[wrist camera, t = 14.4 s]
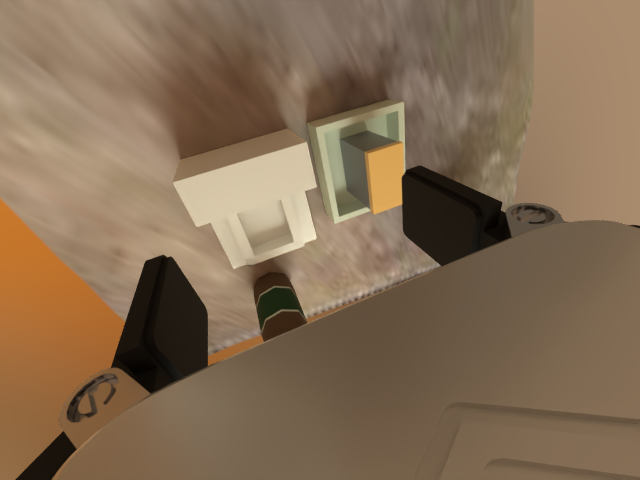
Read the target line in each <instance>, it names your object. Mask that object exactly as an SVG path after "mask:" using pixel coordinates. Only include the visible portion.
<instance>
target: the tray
mask: <svg viewBox="0 0 640 480" xmlns="http://www.w3.org/2000/svg"><path fill="white" fill-rule="evenodd" d="M307 128H308V133H309V137H310V142H311V147H312V151H313V156H314V161H315V165H316V170H317V175H318V180H319V184H320V189H321V194H322V198H323V203H324V208H325V212H326V214H327V215H328V216H329V218H330V219H331V220H332V221H333V223H334V224H336V223H338V222H341V221H344V220H347V219H349V218H352V217H355V216H358V215H360V214H363V213H366V212H369V211H371V210H370V209H368V208H367V207H366V206H365V205H364V204H363V203H361V202H360V201H359V200H358V199H357V198H356V197H354V196H353V195H352V194H351V193H350V192H349V191H347V186H346V180H345V173H344V167H343V160H342V154H341V147H340V140H339V139H341V138H344V137H348V136H351V135H354V134H358V133H361V132H364V131H367V130H368V131H370V132H373V133H376V134H379V135H381V136H384V137H387V138H389V139H392V140H395V141H401V142H403V155H404V173H405V129H404V102H403V101H396V100H390V99H387V100H383V101H380V102H377V103H373V104H370V105H366V106H363V107H359V108H356V109H352V110H349V111H346V112H342V113H339V114H335V115H332V116H328V117H325V118H322V119H318V120H315V121H311V122H308V123H307Z"/></svg>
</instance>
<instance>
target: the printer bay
mask: <svg viewBox="0 0 640 480" xmlns="http://www.w3.org/2000/svg"><path fill="white" fill-rule="evenodd" d="M173 184H174V186H175V188H176V190H177V192H178V194H179V195H180V197H181V199H182V201H183V203H184V205H185V206H186V208H187V210H188V212H189V214H190V216H191V218H192V219H193V221H194V223H195V225H196V227H199V226H202V225H205V224H208V223H211V225H212V227H213V229H214V231H215V233H216V235H217V237H218V239H219V241H220V243H221V245H222V247H223V249H224V251H225V253H226V255H227V257H228V259H229V261H230V263H231V265H232V267H233V269H235V268H238V267H241V266H243V265H246V264H248V265H249V266H251V265H254V264H257V263H259V262H262V261H265V260H268V259H270V258H273V257H276V256H278V255H281V254H284V253H287V252H289V251H292V250H295V249H297V248H300V247H303V246H304V243H306V242H309V241H311V240H314V239H317V238H316V234H315V230H314V226H313V222H312V218H311V214H310V210H309V206H308V202H307V198H306V194H305V191H307V190H310V189H313V188H316V187H317V186H316V181H315V177H314V172H313V168H312V163H311V159H310V154H309V150H308V145H307V142H306V141H305V140H303V139H302V138H301V137H299V136H298V135H296V134H295V133H294V132H292V131H291V130H289V129H288V128H287V129H284V130H280V131H277V132H273V133H270V134H266V135H263V136H260V137H256V138H253V139H249V140H246V141H242V142H239V143H236V144H232V145H229V146H225V147H222V148H218V149H215V150H211V151H208V152H205V153H201V154H198V155H194V156H191V157H187V158H184V159H180V162H179V165H178V168H177V171H176V174H175V177H174V180H173Z"/></svg>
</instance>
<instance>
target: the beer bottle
mask: <svg viewBox="0 0 640 480" xmlns="http://www.w3.org/2000/svg"><path fill="white" fill-rule="evenodd" d="M254 299H255V304H256V309H257V314H258V319H259V324H260V329H261V334H262V337H263V340H264V342H265V341H267V340H270V339H272V338H274V337H277V336H279V335H281V334H284V333H286V332H288V331H291V330H293V329H295V328H298V327H300V326H302V325H305V324H307V321H306V318H305V316H304V313H303V311H302V308H301V306H300V303H299V301H298V298H297V295H296V293H295V290H294V288H293V286H292V284H291V282H290V281H289V280H288V278H287V277H286V276H285V274H281V273H268V274H267V275H265V276H264V277H262V278H260V279H259V280H257V283H256V287H255V290H254Z"/></svg>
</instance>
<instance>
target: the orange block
mask: <svg viewBox="0 0 640 480" xmlns="http://www.w3.org/2000/svg"><path fill="white" fill-rule="evenodd" d="M339 140H340V147H341V154H342V160H343V167H344V173H345V180H346V186H347V191H349V192H350V193H351V194H352V195H353V196H354V197H356V198H357V199H358V200H359V201H360V202H361V203H363V204H364V205H365V206H366V207H367V208H368V209H370V210H371V212H372V213H373V214H377V213H379V212H382V211H385V210H388V209H390V208H393V207H396V206H399V205H401V204H402V176H403V175H404V155H403V142H401V141H395V140H392V139H389V138H387V137H384V136H381V135H379V134H376V133H373V132H370V131H368V130H367V131H364V132H361V133H358V134H354V135H351V136H348V137H344V138H341V139H339Z"/></svg>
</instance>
